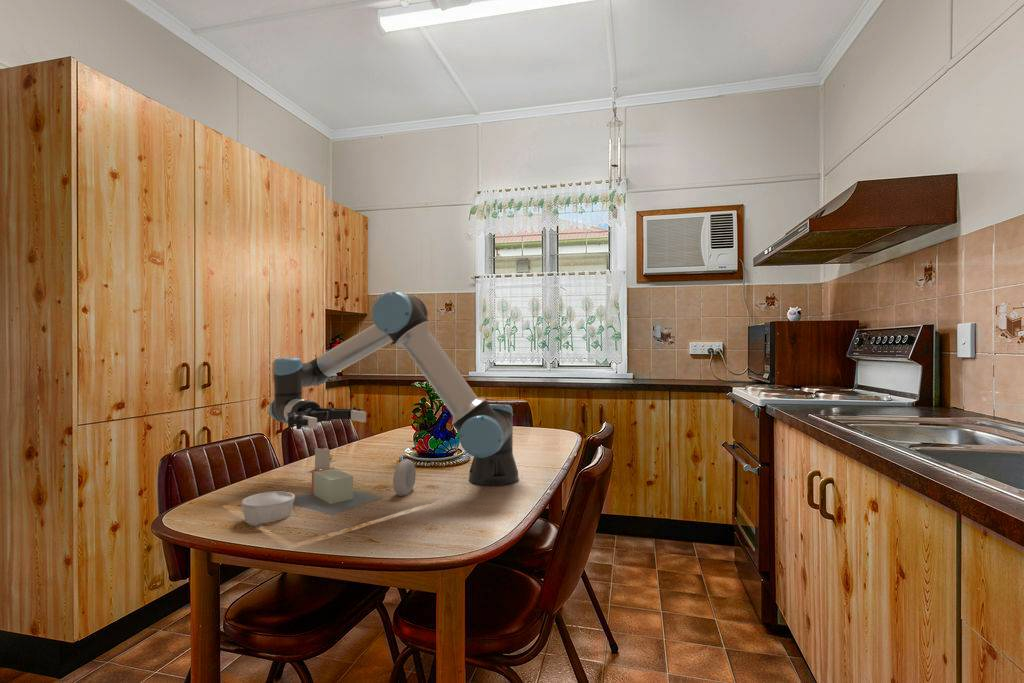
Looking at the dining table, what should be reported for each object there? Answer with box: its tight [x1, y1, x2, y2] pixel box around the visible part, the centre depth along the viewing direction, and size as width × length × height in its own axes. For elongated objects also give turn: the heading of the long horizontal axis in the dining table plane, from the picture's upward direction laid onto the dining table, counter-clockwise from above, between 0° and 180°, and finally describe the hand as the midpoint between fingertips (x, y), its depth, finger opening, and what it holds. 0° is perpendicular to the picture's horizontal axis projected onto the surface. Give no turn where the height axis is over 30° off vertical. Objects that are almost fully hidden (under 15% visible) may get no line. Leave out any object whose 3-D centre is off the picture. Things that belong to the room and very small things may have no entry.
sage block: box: [311, 467, 354, 504], centre depth 132 cm, size 6×6×12 cm
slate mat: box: [293, 489, 383, 516], centre depth 130 cm, size 20×16×1 cm
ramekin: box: [241, 490, 296, 528], centre depth 117 cm, size 11×11×5 cm
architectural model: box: [314, 447, 340, 470], centre depth 164 cm, size 3×7×7 cm, turn 75°
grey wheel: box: [392, 458, 417, 497], centre depth 135 cm, size 10×4×10 cm, turn 168°
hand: (341, 420), depth 127 cm, fingers open, 13 cm apart
